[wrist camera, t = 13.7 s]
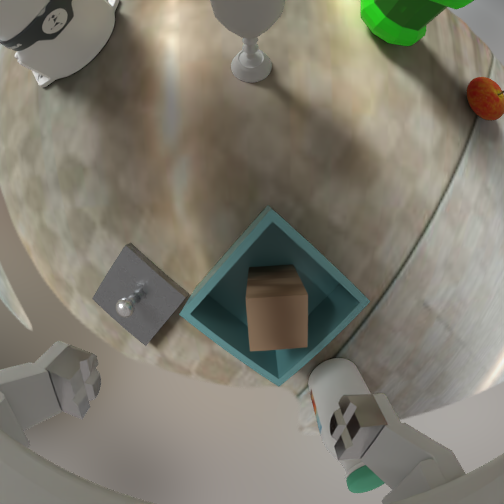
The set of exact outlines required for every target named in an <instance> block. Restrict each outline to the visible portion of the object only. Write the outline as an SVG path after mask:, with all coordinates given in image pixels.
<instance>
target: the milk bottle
mask: <svg viewBox="0 0 504 504" xmlns="http://www.w3.org/2000/svg"><path fill="white" fill-rule="evenodd" d="M308 385H309V390H310V395H311V399H312V403H313V407H314V411H315V415H316V419H317V423H318V427H319V431H320V434H321V438H322V440H323V443H324V445H325V447H326V448H327V450H328V451H329V453H330V454H331V455H332V456H333V457H334V458H336V459H337V460H338V458H337V455H336V451H335V448H334V445H335V444H336V442H337V441H336V440H335V439H334V438H332V437H331V433H330V420H331V417H332V415H333V413H334V411H336V410H337V409H339V408H340V407H339V404H338V403H339V401H340V399H341V397H342V396H343V395H359V394H371V393H370V391H369V389H368V387H367V386H366V384H365V382H364V380H363V378H362V376H361V374H360V372H359V370H358V369H357V367H356V365H355V364H354V363H353V362H352V361H350V360H347V359H344V358H333V359H329V360H327V361H324V362H322V363H321V364H319V365H318V366H317V367H316V368H315V369H314V370H313V371H312V373H311V375H310V377H309V381H308ZM338 461H339V462H340V463H341V464H342V466H343V467H344V468H345V470H346V474H345V478H346V479H347V486H348V489H349V490H350V491H351V492H353V493H363V492H367V491H370V490H373V489H375V488H377V487H379V486H381V485H382V484H384V482H383V481H382V480H381V479H380V478H379V477H378V476H377V475H376V474H375V473H374V472H373V471H372V470H371V469H369V468H368V467H367V466H366V465H365V464H364V463H363V462H362V461H361V460H360V459H351V460H338Z"/></svg>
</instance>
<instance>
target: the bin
mask: <svg viewBox="0 0 504 504" xmlns="http://www.w3.org/2000/svg"><path fill="white" fill-rule="evenodd" d="M290 264H293V265H294V267H295V269H296V271H297V273H298V275H299V277H300V279H301V281H302V283H303V285H304V287H305V289H306V291H307V294H308V343H307V347H304V348H293V349H281V350H266V351H250V346H249V334H248V323H247V311H246V289H247V280H248V270H249V267H260V266H275V265H290ZM369 302H370V301H369V300H368V299H367V298H366V297H365V295H364V294H363V293H362V292H361V291H360V290H359V289H358V288H357V287H356V286H355V285H354V284H353V283H352V282H351V281H350V280H349V279H348V278H347V277H345V276H344V275H343V274H342V273H341V272H340V271H339V270H338V269H337V268H336V267H335V266H334V265H333V264H332V263H331V262H330V261H329V260H328V259H327V258H326V257H324V256H323V255H322V254H321V253H320V252H319V251H318V250H317V249H316V248H315V247H314V246H313V245H312V244H311V243H309V242H308V241H307V240H306V239H305V238H304V237H303V236H302V235H301V234H300V233H299V232H297V231H296V230H295V229H294V228H293V227H292V226H291V225H290V224H289V223H288V222H286V221H285V220H284V219H283V218H282V217H281V216H280V215H279V214H277V213H276V212H275V211H274V210H273V209H272V208H271V207H270V206H268V205H267V206H266V208H265V209H264V210H263V211H262V212H261V213H260V214H259V215H258V217H257V218H256V219H255V220H254V221H253V222H252V223H251V225H250V226H249V227H248V228H247V229H246V230H245V231H244V233H243V234H242V235H241V236H240V237H239V238H238V239H237V241H236V242H235V243H234V244H233V245H232V246H231V247H230V249H229V250H228V251H227V252H226V253H225V254H224V255H223V257H222V258H221V259H220V260H219V261H218V262H217V264H216V265H215V266H214V267H213V268H212V269H211V270H210V272H209V273H208V274H207V275H206V276H205V277H204V279H203V280H202V281H201V282H200V283H199V284H198V286H197V287H196V288H195V290H194V291H193V293H192V294H191V296H190V298H189V299H188V301H187V302H186V304H185V306H184V307H183V309H182V311H181V312H180V314H179V315H180V316H182V317H183V318H184V319H185V320H187V321H188V322H189V323H190V324H192V325H193V326H194V327H196V328H197V329H198V330H199V331H201V332H202V333H203V334H205V335H206V336H207V337H209V338H210V339H211V340H213V341H214V342H215V343H217V344H218V345H219V346H221V347H222V348H223V349H225V350H226V351H227V352H229V353H230V354H232V355H233V356H234V357H236V358H237V359H239V360H240V361H242V362H243V363H244V364H246V365H247V366H249V367H250V368H252V369H253V370H255V371H256V372H258V373H259V374H260V375H262V376H263V377H265V378H267V379H268V380H270V381H271V382H273V383H274V384H276V385H277V386H280V385H282V384H283V383H284V382H285V381H286V380H288V379H289V378H290V377H291V376H292V375H294V374H295V373H296V372H297V371H298V370H300V369H301V368H302V367H303V366H304V365H305V364H306V363H308V362H309V361H310V360H311V359H312V358H313V357H314V356H315V355H317V354H318V353H319V352H320V351H321V350H322V349H323V348H324V347H325V346H326V345H327V344H328V343H329V342H331V341H332V340H333V339H334V338H335V337H336V336H337V335H338V334H339V333H340V332H341V331H342V330H343V329H344V328H345V327H346V326H347V325H348V324H349V323H350V322H351V321H352V320H353V319H354V318H355V317H356V316H357V315H358V314H359V313H360V312H361V311H362V310H363V309H364V308H365V307H366V306H367V304H368V303H369Z"/></svg>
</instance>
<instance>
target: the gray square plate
mask: <svg viewBox="0 0 504 504" xmlns="http://www.w3.org/2000/svg"><path fill="white" fill-rule="evenodd" d="M188 294H189V293H187V292H186V291H185V290H184V289H183V288H181V287H180V286H179V285H178V284H177V283H175V282H174V281H173V280H172V279H171V278H170V277H168V276H167V275H166V274H165V273H164V272H163V271H161V270H160V269H159V268H158V267H157V266H156V265H155V264H153V263H152V262H151V261H150V260H149V259H148V258H147V257H146V256H144V255H143V254H142V253H141V252H140V251H139V250H138V249H137V248H136V247H135V246H133V245H132V244H131V243H129V244H127V245H125V247H124V248H123V250H122V251H121V253H120V254H119V256H118V257H117V259H116V261H115V262H114V264H113V265H112V267H111V268H110V270H109V272H108V273H107V275H106V277H105V278H104V280H103V281H102V283H101V285H100V286H99V288H98V290H97V292H96V293H95V295H94V297H93V298H92V299H93V300H94V301H95V302H96V303H97V304H98V305H99V306H101V307H102V308H103V309H104V310H105V311H106V312H107V313H108V314H109V315H110V316H111V317H112V318H114V319H115V320H116V321H117V322H118V323H119V324H120V325H121V326H123V327H124V328H125V329H126V330H127V331H128V332H130V333H131V334H132V335H133V336H134V337H136V338H137V339H138V340H139V341H140V342H142V343H143V344H144V345H145V346H146V345H147V344H148V343H149V341H150V340H151V339H152V338H153V337H154V335H155V334H156V333H157V332H158V331H159V329H160V328H161V327H162V326H163V324H164V323H165V322H166V321H167V320H168V319H169V317H170V316H171V315H172V314H173V313H174V311H175V310H176V309H177V308H178V307H179V305H180V304H181V303H182V302H183V301H184V299H185V298H186V297H187V295H188Z"/></svg>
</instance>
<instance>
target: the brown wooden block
mask: <svg viewBox="0 0 504 504" xmlns="http://www.w3.org/2000/svg"><path fill="white" fill-rule="evenodd" d="M246 311H247V323H248V334H249V346H250V351H266V350H281V349H293V348H304V347H307V343H308V294H307V291H306V289H305V287H304V285H303V283H302V281H301V279H300V277H299V275H298V273H297V271H296V269H295V267H294V265H293V264H290V265H275V266H260V267H249V270H248V280H247V289H246Z"/></svg>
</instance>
